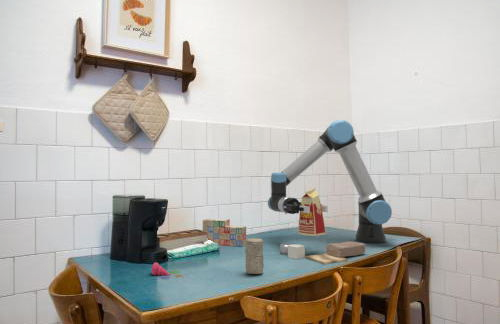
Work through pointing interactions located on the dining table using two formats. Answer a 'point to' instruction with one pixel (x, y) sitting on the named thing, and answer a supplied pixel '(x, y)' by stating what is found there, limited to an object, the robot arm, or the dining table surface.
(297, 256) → the white cube
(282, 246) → the grey tin
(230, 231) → the stack of blocks
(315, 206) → the milk carton
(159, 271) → the toy pieces
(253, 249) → the carving
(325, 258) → the plate
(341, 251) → the brick
